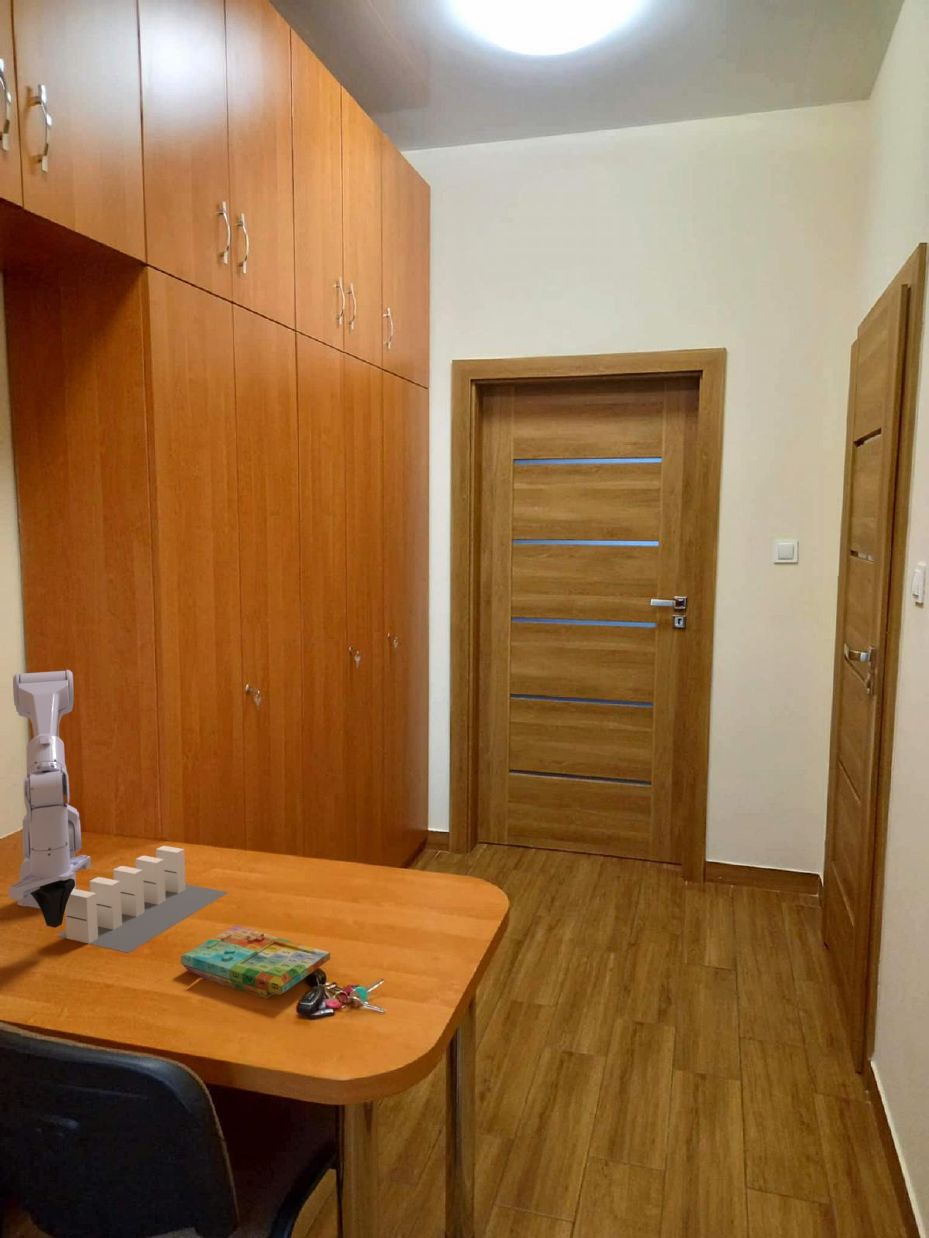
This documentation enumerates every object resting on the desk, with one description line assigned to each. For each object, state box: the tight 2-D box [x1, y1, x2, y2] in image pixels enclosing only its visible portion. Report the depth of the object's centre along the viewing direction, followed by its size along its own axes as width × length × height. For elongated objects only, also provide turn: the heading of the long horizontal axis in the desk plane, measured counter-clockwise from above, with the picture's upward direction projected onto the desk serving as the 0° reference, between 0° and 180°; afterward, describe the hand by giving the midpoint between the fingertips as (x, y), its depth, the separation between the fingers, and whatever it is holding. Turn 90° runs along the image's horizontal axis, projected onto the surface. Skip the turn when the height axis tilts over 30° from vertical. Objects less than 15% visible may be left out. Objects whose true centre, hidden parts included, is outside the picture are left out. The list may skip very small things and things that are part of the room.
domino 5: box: [155, 845, 186, 893], centre depth 170 cm, size 2×5×8 cm, turn 67°
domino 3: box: [112, 865, 145, 917], centre depth 160 cm, size 2×5×8 cm, turn 67°
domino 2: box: [89, 876, 122, 930], centre depth 155 cm, size 2×5×8 cm, turn 67°
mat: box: [55, 883, 229, 954], centre depth 160 cm, size 16×26×1 cm, turn 157°
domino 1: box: [64, 888, 98, 944], centre depth 150 cm, size 2×5×8 cm, turn 67°
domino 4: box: [135, 855, 166, 905], centre depth 165 cm, size 2×5×8 cm, turn 67°
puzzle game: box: [180, 925, 331, 1000], centre depth 139 cm, size 12×5×20 cm
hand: (54, 924), depth 145 cm, fingers closed
